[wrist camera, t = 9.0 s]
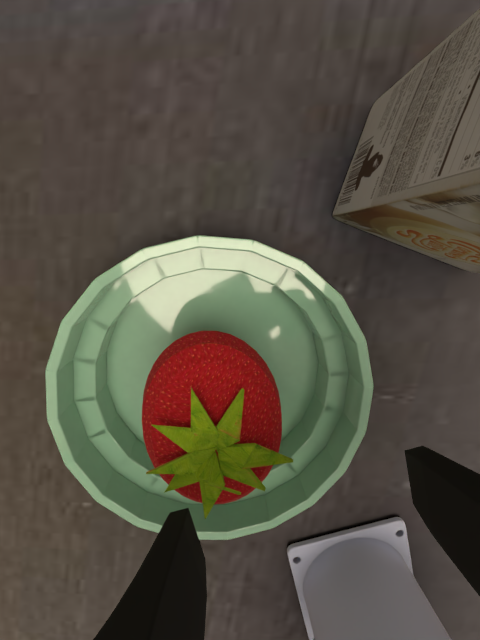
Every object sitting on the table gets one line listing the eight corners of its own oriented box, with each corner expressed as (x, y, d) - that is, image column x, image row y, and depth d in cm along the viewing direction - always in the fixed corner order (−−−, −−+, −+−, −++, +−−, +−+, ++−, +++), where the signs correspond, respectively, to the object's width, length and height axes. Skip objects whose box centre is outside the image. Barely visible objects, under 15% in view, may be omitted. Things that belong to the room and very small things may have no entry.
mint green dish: (358, 448, 23) (392, 497, 19) (127, 507, 23) (106, 571, 18) (314, 208, 20) (343, 199, 15) (42, 274, 19) (-8, 285, 15)
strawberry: (258, 301, 20) (302, 359, 10) (269, 425, 22) (315, 577, 12) (151, 312, 20) (89, 384, 10) (170, 437, 21) (134, 603, 12)
